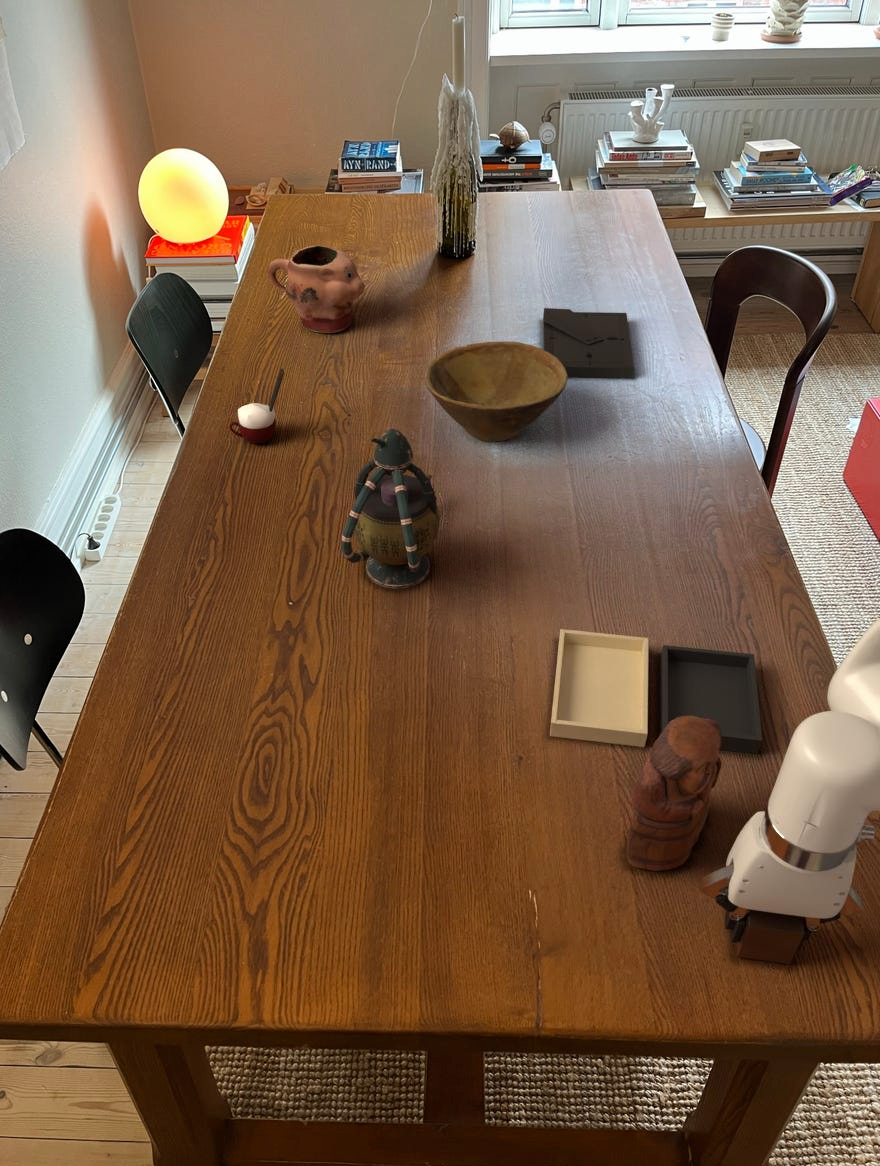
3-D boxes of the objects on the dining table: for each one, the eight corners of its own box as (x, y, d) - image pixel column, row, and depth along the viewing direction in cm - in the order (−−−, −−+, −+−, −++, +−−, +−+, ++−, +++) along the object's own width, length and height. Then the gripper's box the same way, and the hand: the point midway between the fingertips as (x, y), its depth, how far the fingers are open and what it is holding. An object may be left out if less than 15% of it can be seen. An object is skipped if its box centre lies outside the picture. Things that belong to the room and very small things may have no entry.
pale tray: (645, 651, 130) (648, 637, 128) (644, 747, 119) (647, 733, 117) (558, 642, 132) (560, 628, 130) (549, 736, 120) (551, 722, 119)
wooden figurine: (669, 890, 105) (699, 785, 92) (614, 860, 108) (636, 755, 95) (715, 814, 112) (749, 706, 99) (662, 788, 114) (689, 680, 102)
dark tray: (749, 667, 127) (754, 654, 126) (757, 754, 117) (762, 740, 116) (659, 658, 129) (662, 644, 127) (660, 742, 119) (663, 729, 117)
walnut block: (785, 919, 102) (799, 887, 98) (789, 964, 99) (804, 933, 94) (734, 912, 103) (746, 880, 99) (737, 957, 99) (749, 926, 95)
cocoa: (229, 446, 167) (218, 382, 159) (241, 425, 171) (230, 362, 163) (284, 451, 165) (275, 386, 157) (294, 430, 170) (286, 366, 161)
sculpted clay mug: (260, 332, 195) (250, 262, 185) (283, 303, 203) (275, 235, 194) (358, 343, 191) (353, 272, 181) (377, 314, 199) (373, 244, 189)
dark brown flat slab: (542, 321, 194) (543, 376, 180) (543, 307, 192) (544, 362, 178) (625, 322, 193) (632, 378, 178) (627, 309, 191) (634, 364, 176)
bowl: (456, 381, 180) (456, 329, 173) (579, 407, 172) (584, 354, 165) (404, 444, 166) (403, 391, 159) (535, 475, 158) (540, 421, 151)
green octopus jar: (339, 602, 139) (325, 461, 122) (387, 496, 156) (381, 360, 139) (423, 615, 136) (420, 474, 120) (463, 506, 153) (466, 370, 137)
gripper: (904, 805, 89) (848, 912, 101) (705, 782, 91) (675, 889, 104) (919, 879, 83) (858, 981, 96) (708, 852, 86) (676, 955, 99)
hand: (763, 932), depth 100 cm, fingers closed on walnut block, 5 cm apart
